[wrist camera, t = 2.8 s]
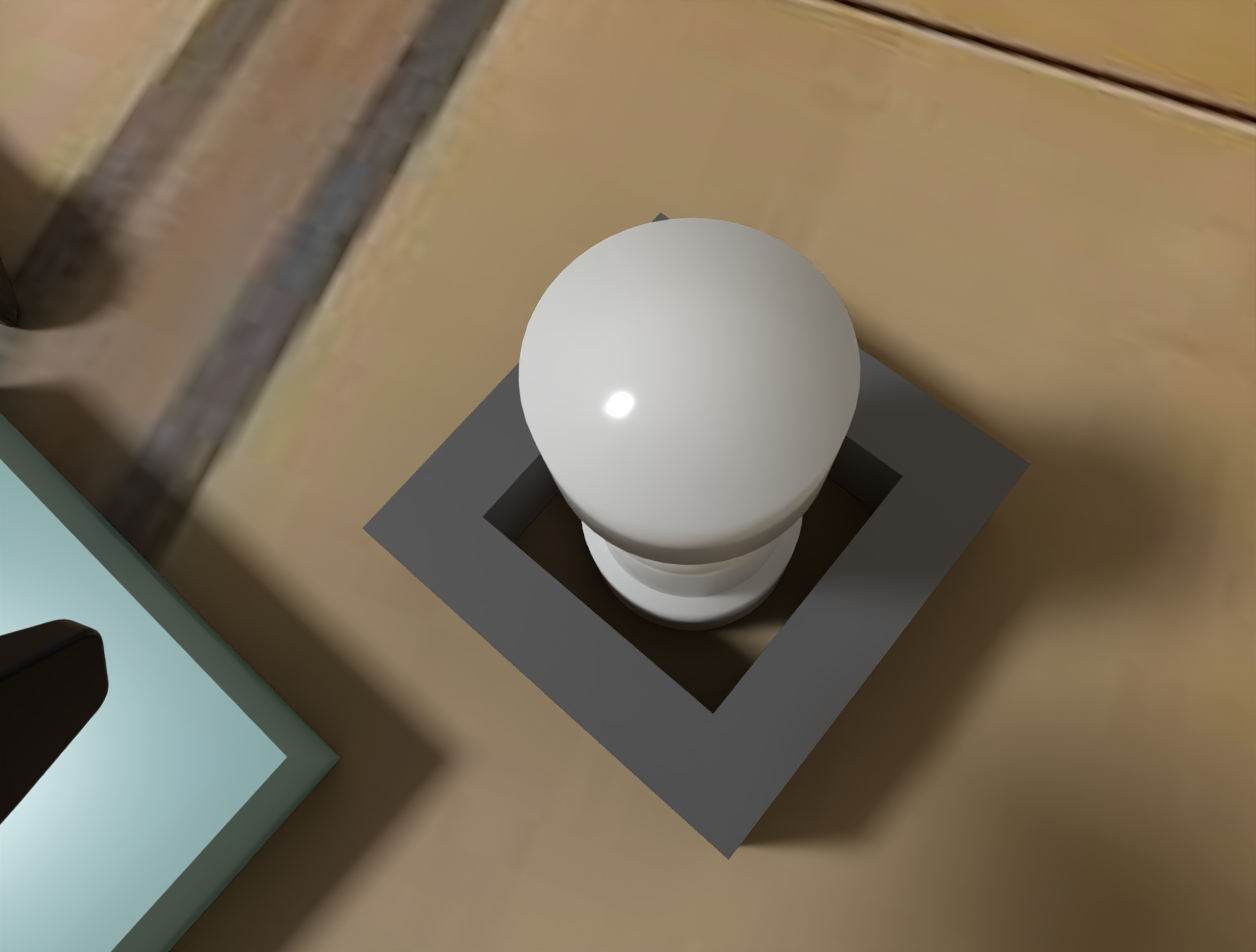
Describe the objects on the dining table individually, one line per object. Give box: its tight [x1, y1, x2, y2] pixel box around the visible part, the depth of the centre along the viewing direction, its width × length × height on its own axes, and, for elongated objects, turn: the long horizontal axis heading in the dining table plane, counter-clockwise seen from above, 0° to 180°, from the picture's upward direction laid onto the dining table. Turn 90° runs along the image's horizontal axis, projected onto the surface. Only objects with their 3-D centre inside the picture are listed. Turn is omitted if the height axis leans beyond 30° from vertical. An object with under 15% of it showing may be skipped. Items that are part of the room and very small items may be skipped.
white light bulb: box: [519, 218, 861, 631], centre depth 18 cm, size 5×5×10 cm
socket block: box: [363, 213, 1030, 860], centre depth 21 cm, size 11×11×3 cm
